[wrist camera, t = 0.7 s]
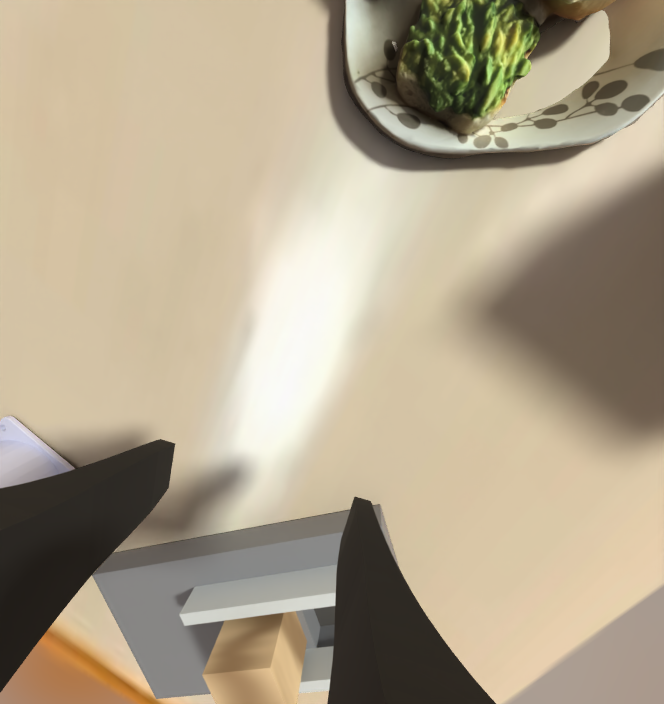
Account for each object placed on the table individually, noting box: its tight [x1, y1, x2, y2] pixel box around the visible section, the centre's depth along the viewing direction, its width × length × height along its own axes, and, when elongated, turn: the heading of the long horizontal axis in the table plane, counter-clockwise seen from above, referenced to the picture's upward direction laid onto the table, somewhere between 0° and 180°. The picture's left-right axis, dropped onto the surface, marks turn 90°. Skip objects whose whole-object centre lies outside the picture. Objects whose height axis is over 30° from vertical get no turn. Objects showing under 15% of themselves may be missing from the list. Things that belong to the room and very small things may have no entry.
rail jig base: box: [92, 505, 399, 699], centre depth 23 cm, size 23×13×4 cm, turn 106°
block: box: [202, 611, 307, 704], centre depth 21 cm, size 4×4×4 cm
